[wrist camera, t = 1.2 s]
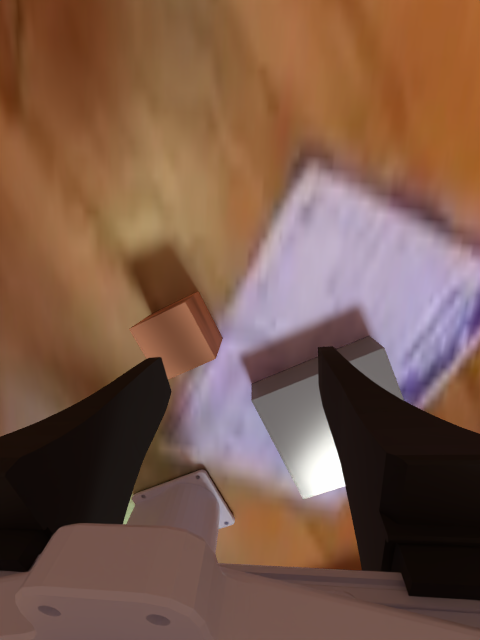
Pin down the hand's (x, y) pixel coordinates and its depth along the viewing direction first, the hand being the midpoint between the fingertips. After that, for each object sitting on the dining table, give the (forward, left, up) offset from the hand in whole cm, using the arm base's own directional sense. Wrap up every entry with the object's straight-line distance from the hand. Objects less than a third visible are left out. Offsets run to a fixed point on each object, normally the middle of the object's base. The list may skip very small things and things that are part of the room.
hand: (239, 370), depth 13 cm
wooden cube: (-6, +1, -13) cm, 15 cm away
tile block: (+3, -13, -13) cm, 19 cm away
